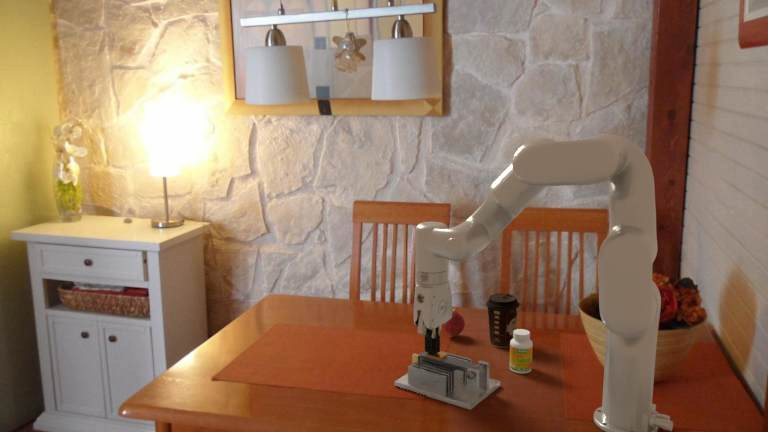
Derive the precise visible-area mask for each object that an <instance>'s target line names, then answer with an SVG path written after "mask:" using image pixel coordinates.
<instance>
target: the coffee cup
mask: <svg viewBox="0 0 768 432" xmlns="http://www.w3.org/2000/svg"><path fill="white" fill-rule="evenodd" d="M485 305H486V307H487V320H488V321H487V322H488V338H489V345H490V346H492V347H493V348H501V349H503V348H510V341H511V340H512V339H513V338H514V337H513V331H514V330H516V328H517V320H518V311H517V309H519V308H520V305H521V304H520V302H519V301H518V299H517V298H516V296H514V295H513V294H510V293H495V294H491V295H489V297H488V299H487V301H486V303H485Z"/></svg>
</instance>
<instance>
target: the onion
mask: <svg viewBox="0 0 768 432" xmlns="http://www.w3.org/2000/svg"><path fill="white" fill-rule="evenodd" d="M465 323H466V322H465V319H464V317H463V315H462V314H461V313H459V312H458V311H457V309H456V308H452V318H451V319H450V320H449V321H447V322H446V323H444V324H443V328H444V331H445V332H446V333H447V334H448V335H449V336H451V337H453V338H456V337H457V336H459V335H460V334H461V333H462V332H463V331H464V330H465V326H466V324H465Z"/></svg>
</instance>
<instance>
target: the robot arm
mask: <svg viewBox="0 0 768 432" xmlns="http://www.w3.org/2000/svg"><path fill="white" fill-rule="evenodd" d="M606 181H607V183H608V189H609V190H608V193H609V194H608V210H609V212H608V213H609V221H608V222H609V226H608V228H609V229H608V235H607V236H606V238H605V239H604V240H603V241H602V243H601V246H600V247H599V250H598V251H599V252H598V258H597V259H598V260H597V272H598V273H597V276H598V304H599V305H598V307H599V315H600V319H601V322H602V324H603V326H604V327H605V328H606V339H605V349H604V350H605V352H604V366H603V367H604V370H603V371H604V372H603V384H602V386H603V387H602V388H603V389H602V401H601V404H602V405H601V406H600V407H598V408H596V409H595V411H594V413H593V422H594V424H595V425H596V426H597V427H598V428H599V429H600V430H602V431H603V432H658V431H659V428H660V429H663V430H664V431H669V432H672V430H673V427H674V421H673V420H671V419H670V418H671V416H670V415H668V414H664V413H659V411H657V410H656V409H657V405H656V404H655V403H653V393H654V382H655V381H654V380H655V368H656V367H655V366H656V355H657V343H658V332H659V325H660V324H659V323H660V316H661V306H662V297H661V293H660V290H659V287H658V286H657V284H656V283H655V281H653V265H654V264H653V263H654V261H655V260H656V257H657V254H658V239H657V237H658V236H657V209H656V192H655V191H656V190H655V189H656V188H655V177H654V173H653V169H652V166H651V164H650V160H649V159H648V157H647V156H646V154H645V153H644V152H643V150H642V149H641V148H640V147H639V146H638V145H637V144H635V143H634V142H632V141H631V140H629V139H628V138H625V137H624V136H620V135H618V134H613V133H600V134H598V135H597V134H596V135H594V136H592V137H589V138H588V139H577V140H576V139H575V140H564V141H563V140H562V141H557V140H555V139H551V138H548V137H541V138H537V139H534V140H531V141H530V140H529V141H528V142H525V143H524V144H522V145H521V146H519V147H518V149H517V150H516V151H515V153H514V155H513V157H512V162H511V163H510V164H509V165H508V166H507V168H506V169H504V171H502V173H501V174H500V175H499V176H497V178H496V179H495V180H493V182H492V183H491V184H490V186H489V189H488V196H487V197H486V199H485V200H484V202H483V203H482V204H481V205H480V206H479V207H478V208H477V209H476V210H475V211H474V212H473V214H472V215H470V216H469V217H468V218H467V219H466V220H465V221H464V222H461V223H459V224H457V225H455V226H453V227H449V228H448V225H446V223H443V222H440V221H424V222H421V223H420V222H419V223H418V224H417V225H416V227H415V229H414V246H415V247H414V254H415V255H414V256H415V257H414V258H415V261H414V262H415V263H414V266H415V272H414V273H415V274H414V275H415V277H414V278H415V289H414V299H413V322H414V326H415V327H417V334H418V335H422V336H423V337H424V351H425V352H428V353H432V354H437V353H439V352H440V351H441V335H442V328H443V326H444V323H446V322H447V321H449V320H450V319H451V318H452V310H453V299H452V297H453V296H452V288H451V282H450V278H449V261H451V262H456V263H462V262H466V261H468V260H469V259H471V258H473V257H474V256H475V255H477V254H478V253H480V252H482V251H483V250H484V249H485V248H486V247H488V245H490V244H491V243H492V242H493V241H494V240H495V239H496V238H497V236H499V235H500V234H501V233H502V232H503V231H504V230H505V228H507V227H508V226H509V225H510V223H512V222H513V220H515V218H518V216H519V215H520V214H521V213H522V212H523V211H524V209H526V208H527V207H528V206H529V205H530V203H532V202H533V200H535V198H537V196H538V195H540V193H542V192H543V191H544V190H545V189H546V188H547V187H555V186H556V187H558V186H559V187H560V186H561V187H563V186H594V185H599V184H601V183H602V184H603V183H605V182H606Z"/></svg>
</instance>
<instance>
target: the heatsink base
mask: <svg viewBox="0 0 768 432" xmlns="http://www.w3.org/2000/svg"><path fill="white" fill-rule="evenodd" d="M440 352H441V353H445V354H447V357H451V358H454V359H458V360H462V361H465V362H469V363H472V359H471V358H469V357H464V356H461V355H456V354H453V353H450V352H447V351H446V352H445V351H441V350H440ZM419 354H420V353H419ZM419 354H417V353H416V352H415V353H413V354H411V364H410V365H407V372H406V373H405V374H404V375H402V376H401V377H400V378H398V379H396V380H395V381H394V387H395V386H398V387H400V388H399V389H402V388H403V389H402V390H405V389H407V390H406V391H408V390H411V391H414V392H417V393H416V394H418V393H420V394H419V395H421V394H423V395H422V396H424V395H426V396H425V397H428V398H431V399H433V400H434V399H435V400H437V401H440V402H443V403H447V404H450V405H452V406H453V405H454V406H457V407H460V408H462V409H466V410H470V411H471V410H472V409H474V408H475V407H476V406H477V405H479V404H480V403H481V402H482V401H484V400H485V399H486V398H487V397H489V396H490V395H491V394H492V393H494V392H495V391H496V390H497V389H498V388H499V387H501V381H500V380H497V379H493V378H490V362H488V361H484V360H478V361H477V362H476V363H477V364H478V363H483V364H484V365H485V366H486V372H485V373H483V374H482V375H481V376H479V370H476V369H472V368H469V369H467V372H463V371H460V370H456V369H453V368H449V367H446V366H442V365H439V364H435V363H432V362H428V361H425V360H421V359H420V355H419ZM477 364H476V365H477ZM398 387H397V388H398ZM411 391H410V392H411ZM414 392H413V393H414Z"/></svg>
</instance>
